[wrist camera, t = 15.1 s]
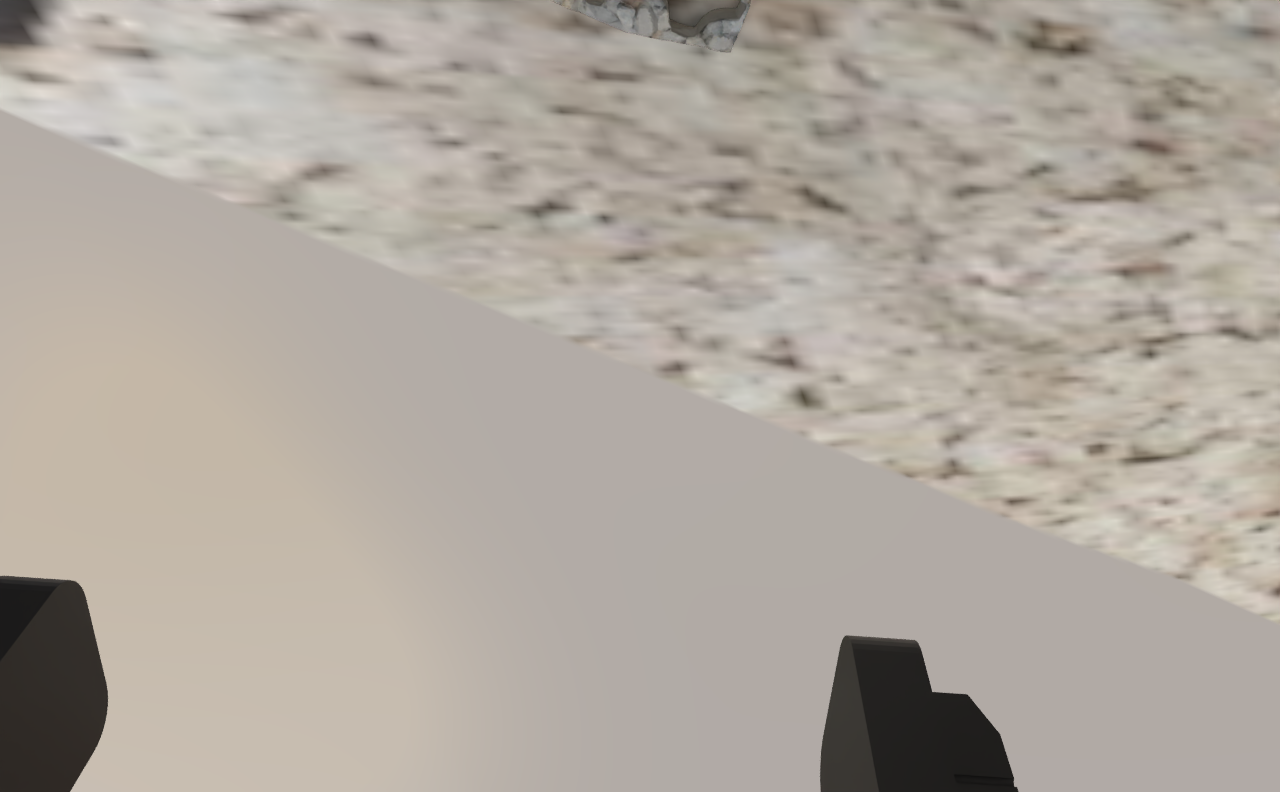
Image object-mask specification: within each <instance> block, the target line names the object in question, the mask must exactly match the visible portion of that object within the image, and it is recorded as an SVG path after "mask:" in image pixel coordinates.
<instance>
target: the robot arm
mask: <svg viewBox="0 0 1280 792" xmlns="http://www.w3.org/2000/svg"><path fill="white" fill-rule="evenodd" d="M107 707H108V691H107V685H106V680H105V676H104V672H103V668H102V663H101V659H100V655H99V651H98V647H97V642H96V639H95V634H94V630H93V626H92V622H91V617H90V613H89V609H88V605H87V600H86V597H85V594H84V591H83V589H82V587H81V586H80V585H79V584H78V583H77V582H75V581H71V580H58V579H57V580H56V579H43V578H42V579H41V578H29V577H14V576H0V792H70V791H71V789H72V787H73V786H74V784H75V782H76V781H77V779H78V777H79V776H80V774H81V772H82V771H83V769H84V767H85V766H86V764H87V762H88V761H89V759H90V757H91V756H92V754H93V752H94V750H95V748H96V747H97V745H98V742H99V740H100V738H101V734H102V732H103V728H104V724H105V720H106V715H107ZM820 767H821V768H820V783H821V792H1018V789H1017V787H1014V782H1013V781H1014V777H1013V774H1012V771H1011V767H1010V764H1009V761H1008V758H1007V755H1006V752H1005V749H1004V745H1003V742H1002V739H1001V736H1000V734H999V732H998V731H997V730H996V729H995V728H994V726H993V725H992V724H991V723H990V721H989V720H988V719H987V718H986V717H985V715H984V714H983V713H982V712H981V710H980V709H979V708H978V707H977V706H976V704H975V703H974V702H973V701H972V699H971V698H970V697H969V696H968V695H966V694H953V693H938V692H932V689H931V685H930V681H929V678H928V674H927V670H926V666H925V663H924V658H923V655H922V651H921V648H920V646H919V644H918V642H917V641H915V640H906V639H891V638H876V637H862V636H845V637H844V638H843V640H842V643H841V647H840V651H839V656H838V662H837V666H836V672H835V677H834V682H833V687H832V693H831V698H830V703H829V709H828V714H827V719H826V724H825V730H824V735H823V741H822V749H821V766H820Z"/></svg>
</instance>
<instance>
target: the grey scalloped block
mask: <svg viewBox="0 0 1280 792" xmlns="http://www.w3.org/2000/svg"><path fill="white" fill-rule="evenodd" d="M551 1H553V2H555V3H557V4H559V5H561V6H564V7H566V8H568V9H570V10H574V11H578V12H581V13H583V14H585V15H587V16H589V17H591V18H594V19H596V20H598V21H601V22H603V23H606V24H608V25H610V26H613V27H615V28H617V29H619V30H622V31H624V32H627V33H632V34H637V35H641V36H646V37H650V38H655V39H660V40H668V41H673V42H678V43H683V44H689V45H696V46H701V47H706V48H708V49H711V50H715V51H720V52H726V53H727V52H731V50H732V48H733V45H734V42H735V40H736V38H737V35H738V33H739V31H740V29H741V27H742V24H743V22H744V20H745V17H746V15H747V12H748V9H749V7H750V3H751V0H740V2H739V5H738V7H737V8H720V9H716V10H713V11H710V12H708V13H707V14H706V15H704V16H703V17H702V18H701V20H700V21H699V22H698V24H697V25H696V26H695V27H692V26H685V25H682V24H679V23H677V22H675V21H673V20H671V19H669V5H668V1H667V0H551Z"/></svg>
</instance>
